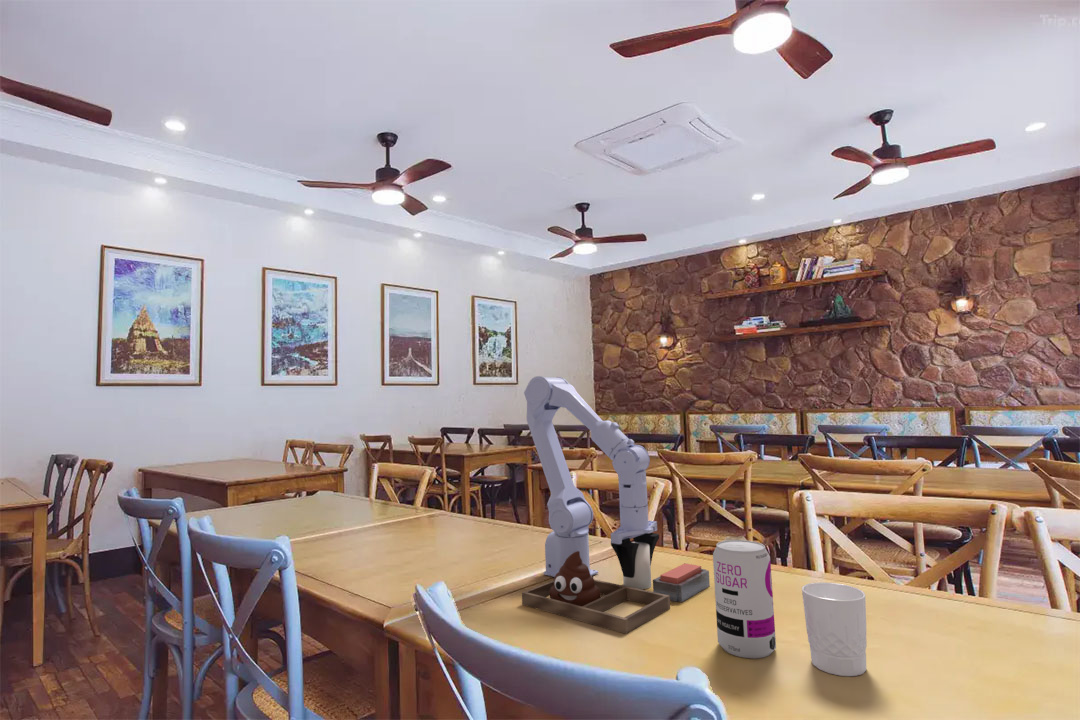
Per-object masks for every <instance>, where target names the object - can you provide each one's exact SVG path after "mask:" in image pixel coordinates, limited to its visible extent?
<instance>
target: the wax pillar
mask: <svg viewBox="0 0 1080 720" xmlns="http://www.w3.org/2000/svg"><path fill="white" fill-rule="evenodd" d="M632 543H637V544H639V546H638V549H637V552H636V557H635V573H634V577H633V578H629V577H624V576H623V575H622V578H623V586H627V587H632V588H637V589H641V590H648V589H650V588H651V587H652V571H651V569H652V567H650V547H649V544H647V543H643V542H634V541H632Z"/></svg>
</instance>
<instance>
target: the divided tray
mask: <svg viewBox="0 0 1080 720" xmlns="http://www.w3.org/2000/svg"><path fill="white" fill-rule="evenodd" d="M593 579H594V581H595V585H596V586H597V587H598V588H599V590H600V592H601V595H603V596H601V598H599V599H597V600H595V601H593V602H590V603H588V604H586V605H584V606H578V605H574V604H570V603H566V602H562V601H559V600H555V599H551V598H550V596H549V592H550V589H551V587H552V586H553V585H554V579H553V580H551V581H548V582H545V583H543V584H541V585H538V586H535V587H532V588H530V589H528V590H527V589H526V590H525V591H523V592H521V605H522V606H525V607H526V606H527V607H528V608H533V609H537V610H539V611H540V610H541V611H542V612H543V611H544V612H548V613H550V614H553V615H554V614H555V615H558V616H562V617H565V618H569V619H572V620H575V621H580V622H583V623H587V624H589V625H593V626H597V627H600V628H604V629H607V630H610V631H614V632H617V633H622V634H625V635H627V634H629V633H631V632H632V631H633V630H635V629H637V628H639V627H640V626H642V625H644V624H646V623H647V622H649V621H650V620H653V619H654V618H655V617H657V616H659V615H661V614H663V613H665V612H666V611H668V610H670V609H671V601H670V596H669V595H664V594H660V593H655V592H653V591H650V590H647V589H643V590H641V589H637V588H632V587H627V586H624V584H617V583H614V582H613V583H612V582H609V581H603V580H600V579H595V578H593ZM625 601H631V602H636V603H639V604H644V606H643V607H641V608H640V609H637V610H635V611H634V612H631V613H630V614H628V615H626V616H620V615H615V614H612V613H608V612H605V611H607V610H609V609H611V608H613V607H616V606H618V605H619V604H622V603H623V602H625Z"/></svg>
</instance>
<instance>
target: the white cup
mask: <svg viewBox="0 0 1080 720" xmlns="http://www.w3.org/2000/svg"><path fill="white" fill-rule="evenodd" d="M801 594H802V600H803V601H802V603H803V609H804V610H803V611H804V619H805V628H806V634H807V641H808V643H809V650H810V658H811V664H812V665H813V666H814V667H815V668H817V669H818V670H820V671H822V672H825V673H828V674H830V675H836V676H841V677H857V676H860V675H864V673H865V672H866V671H867V653H866V649H867V608H866V607H867V606H866V605H867V603H866V593H865V592H864V591H863V590H862V589H859V588H857V587H854V586H851V585H848V584H842V583H836V582H812V583H807V584H804V585H803V586H801Z"/></svg>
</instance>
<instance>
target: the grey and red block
mask: <svg viewBox="0 0 1080 720" xmlns="http://www.w3.org/2000/svg"><path fill="white" fill-rule="evenodd" d="M701 571H702V572H700V573H699V574H697V575H695V576H693V577H691V578H689V579H687V580H685V581H683V582H682V583H680V584H675V583H670V582H665V581H660V576H658V577H655V578H654V579H652V588H653V589H652V590H653V591H652V592H655V593H660V594H664V595H669V596H670V602H676V603H678V602H680V603H683V602H685V601H686V600H688V599H690V598H692V597H694V596H696V595H697V594H698V593H700V592H702V591H704V590H706V589H707V588H709V587H710V586H711V585H710V584H711V583H710V571H709V570H707V569H704V568H701Z"/></svg>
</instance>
